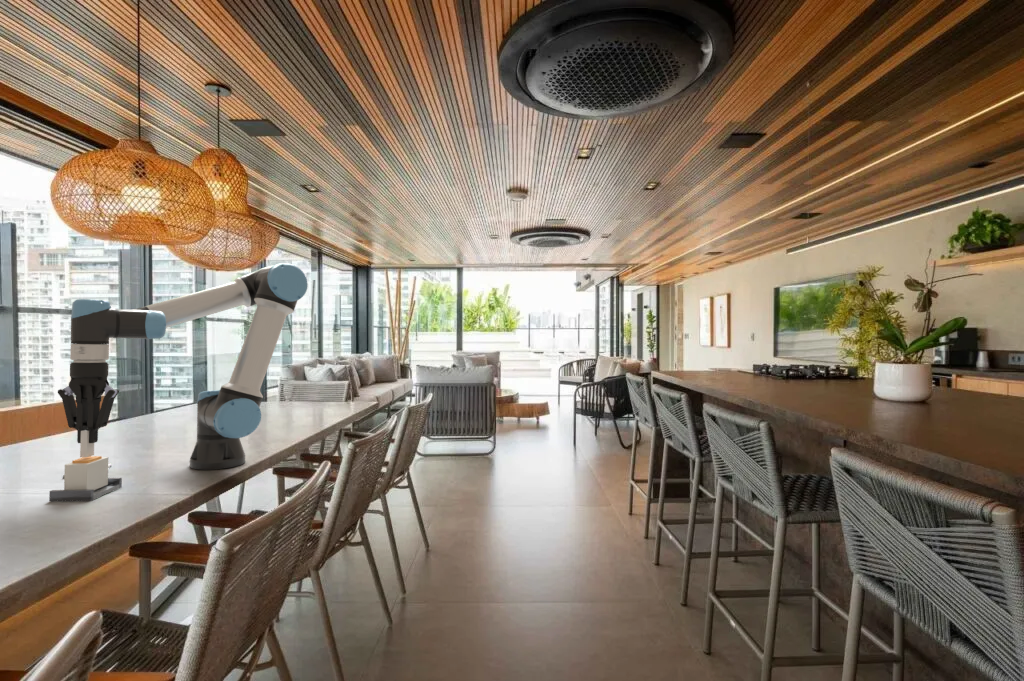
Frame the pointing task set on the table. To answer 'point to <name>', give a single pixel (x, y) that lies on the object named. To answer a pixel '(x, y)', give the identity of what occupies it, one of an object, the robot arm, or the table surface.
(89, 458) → the block
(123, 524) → the table surface
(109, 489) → the dark grey tray
